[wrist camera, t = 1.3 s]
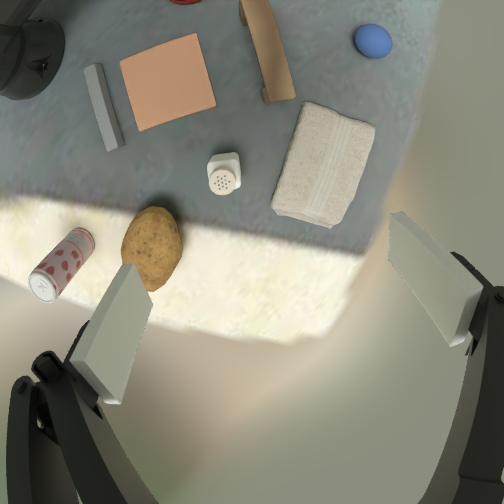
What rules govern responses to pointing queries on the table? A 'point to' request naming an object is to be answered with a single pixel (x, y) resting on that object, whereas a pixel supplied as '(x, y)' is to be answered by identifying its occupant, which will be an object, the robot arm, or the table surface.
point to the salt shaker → (224, 173)
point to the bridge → (268, 49)
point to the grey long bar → (103, 107)
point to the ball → (373, 41)
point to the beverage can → (60, 265)
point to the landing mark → (167, 82)
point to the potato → (152, 246)
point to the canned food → (184, 1)
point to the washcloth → (322, 166)
